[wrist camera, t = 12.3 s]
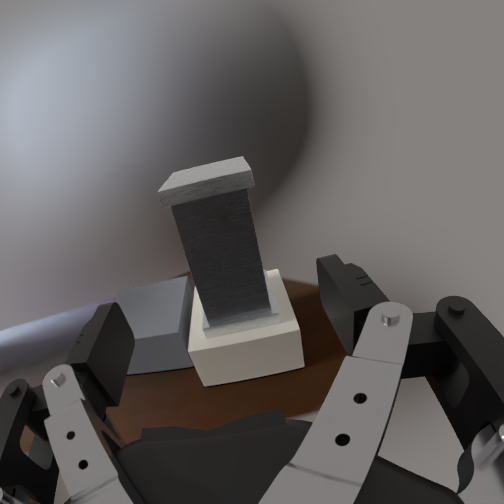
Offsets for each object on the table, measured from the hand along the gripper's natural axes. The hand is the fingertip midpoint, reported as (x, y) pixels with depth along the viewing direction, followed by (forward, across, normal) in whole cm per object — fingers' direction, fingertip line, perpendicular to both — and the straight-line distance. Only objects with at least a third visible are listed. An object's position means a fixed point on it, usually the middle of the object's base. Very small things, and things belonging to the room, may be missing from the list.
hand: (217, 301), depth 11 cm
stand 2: (+11, 0, +12) cm, 16 cm away
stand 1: (+13, +9, +12) cm, 20 cm away
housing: (+10, 0, +8) cm, 13 cm away
